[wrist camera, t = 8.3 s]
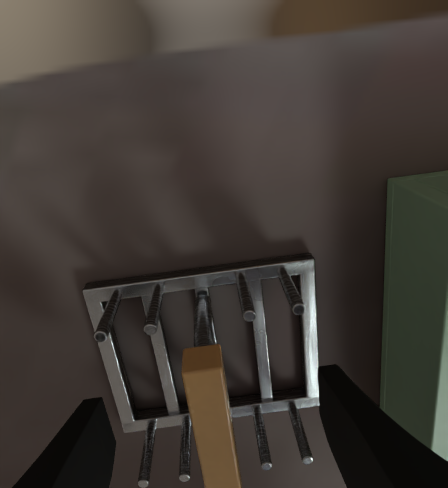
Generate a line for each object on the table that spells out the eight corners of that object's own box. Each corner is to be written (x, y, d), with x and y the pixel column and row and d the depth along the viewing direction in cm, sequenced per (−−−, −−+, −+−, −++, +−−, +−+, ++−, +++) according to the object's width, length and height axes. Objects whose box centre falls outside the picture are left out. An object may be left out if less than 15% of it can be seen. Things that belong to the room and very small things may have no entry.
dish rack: (310, 251, 15) (363, 329, 10) (317, 396, 17) (360, 510, 13) (85, 282, 15) (32, 375, 10) (126, 422, 17) (99, 547, 13)
